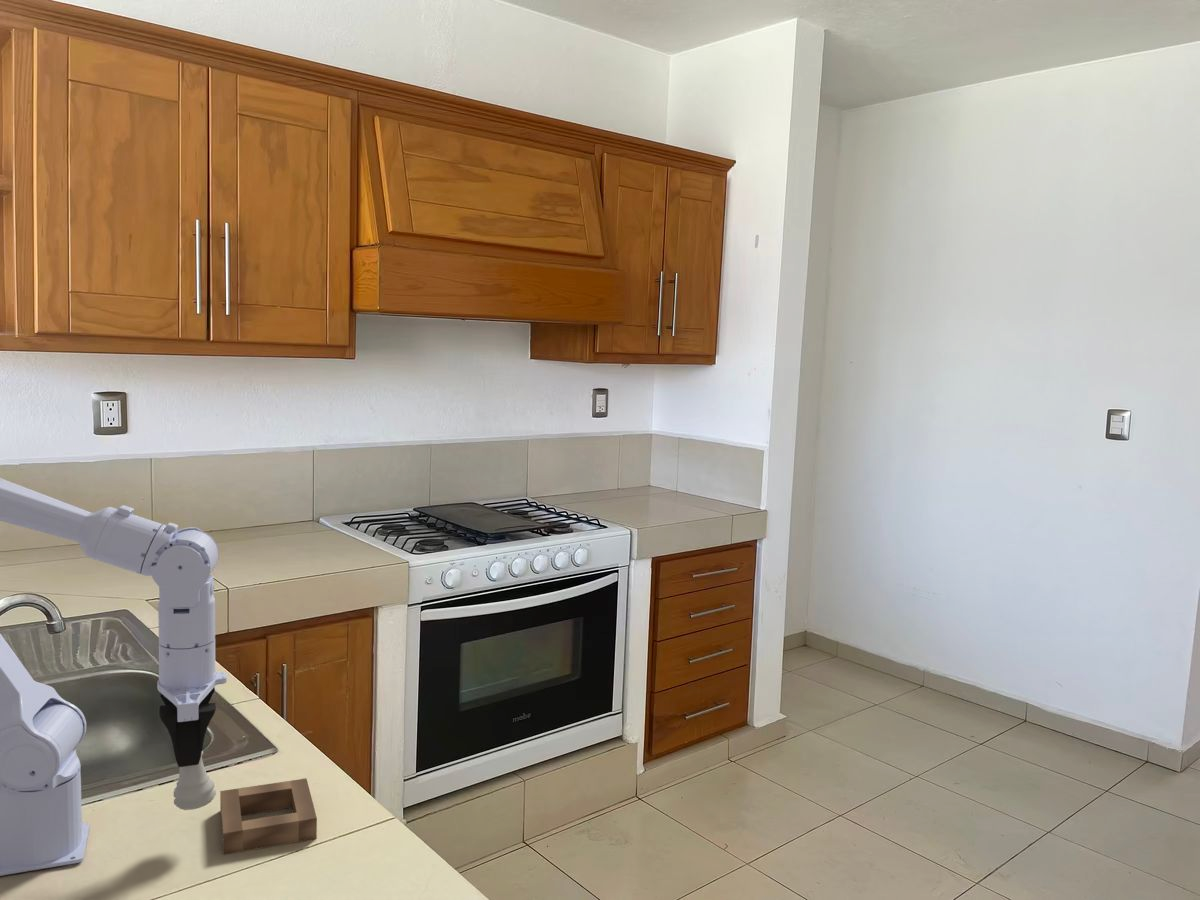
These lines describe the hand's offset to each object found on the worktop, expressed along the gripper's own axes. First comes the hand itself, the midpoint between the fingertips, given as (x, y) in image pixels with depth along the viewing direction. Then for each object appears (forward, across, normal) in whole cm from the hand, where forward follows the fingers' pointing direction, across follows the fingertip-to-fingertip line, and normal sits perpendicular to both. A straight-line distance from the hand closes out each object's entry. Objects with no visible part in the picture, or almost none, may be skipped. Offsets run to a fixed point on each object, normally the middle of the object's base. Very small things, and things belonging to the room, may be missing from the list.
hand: (188, 757), depth 104 cm
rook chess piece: (+6, 0, -1) cm, 6 cm away
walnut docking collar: (+10, +1, -8) cm, 13 cm away
